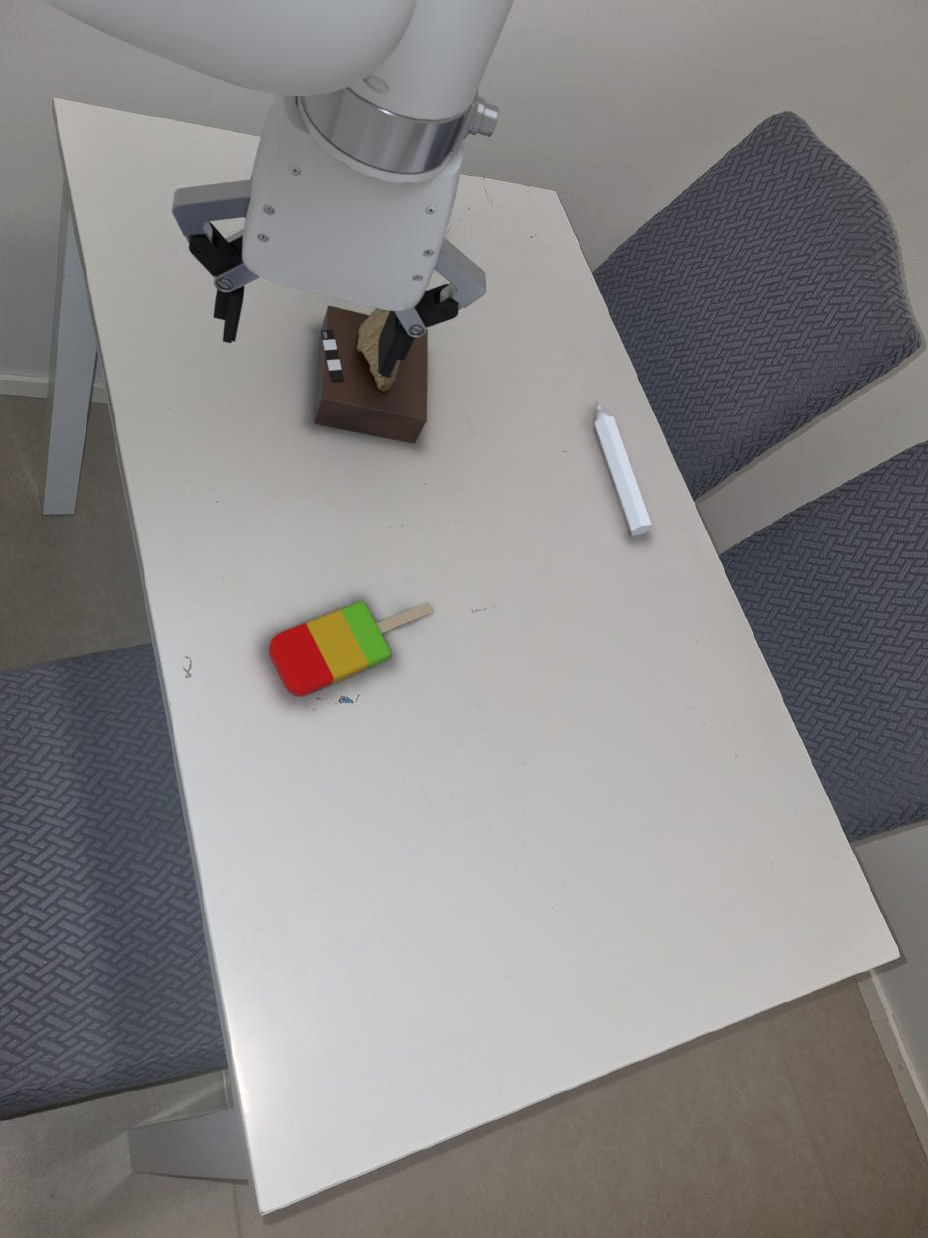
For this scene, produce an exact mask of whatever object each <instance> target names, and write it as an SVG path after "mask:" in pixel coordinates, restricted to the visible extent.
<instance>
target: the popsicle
mask: <svg viewBox="0 0 928 1238" xmlns="http://www.w3.org/2000/svg"><path fill="white" fill-rule="evenodd" d="M433 612H434V608H433V606H432V605H431V603H429V602H427V603H423V604H421V605H419V606H416V607H413V608H411V609H408V610H407V611H404V612H402V613H398V614H396V615H394V616H392V617H389V618H386V619H384V620H381V621H378V622H377V623H376V620H375V619H374V617H373V615H372V613H371V612H370V609H369V607H368V606H367V604H366V601H365V600H360V601H358V602H355V603H353V604H350V605H347V606H345V607H343V608H340V609H337V610H334V611H332V612H329V613H327V614H325V615H324V614H323V615H322V616H319V617H316V618H313V619H311V620H309V621H306V622H303V623H301V624H299V625H296V626H294V627H290V628H288V629H286V630H283V631H281V632H279V633H276V634H275V635H274V636H273V638H271V640H270V642H269V645H268V655H269V657H270V660H271V662H272V663H273V665H274V667H275V670H276V672H277V674H278V675H279V678H280V679H281V681H282V683H283V686H284V687H285V689H286V690H287V692H289V693H290V694H291V695H293V696H296V697H303V696H307V695H310V694H313V693H314V692H316V691H319V690H321V689H323V688H326V687H328V686H330V685H333V684H335V683H337V682H340V681H342V680H344V679H347V678H349V677H351V676H354V675H356V674H358V673H361V672H363V671H366V670H368V669H370V668H372V667H375V666H378V665H379V664H381V663H384V662H386V661H388V660H389V658H390V657H391V655H392V651H391V649H390V647H389V644H388V643H387V642H386V639H385V637H384V636H383V634H385V633H387V632H390V631H392V630H394V629H398V628H400V627H402V626H404V625H407V624H410V623H412V622H415V621H417V620H419V619H421V618H424V617H426V616H428V615H431V614H432V613H433Z"/></svg>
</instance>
